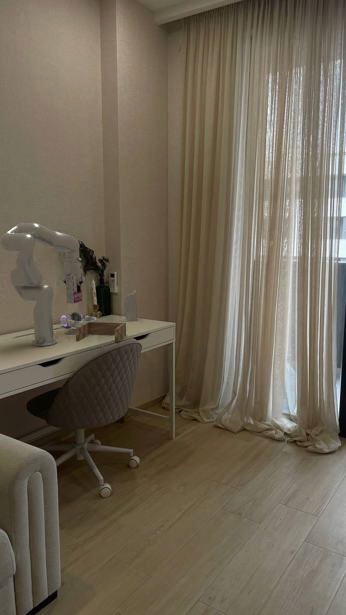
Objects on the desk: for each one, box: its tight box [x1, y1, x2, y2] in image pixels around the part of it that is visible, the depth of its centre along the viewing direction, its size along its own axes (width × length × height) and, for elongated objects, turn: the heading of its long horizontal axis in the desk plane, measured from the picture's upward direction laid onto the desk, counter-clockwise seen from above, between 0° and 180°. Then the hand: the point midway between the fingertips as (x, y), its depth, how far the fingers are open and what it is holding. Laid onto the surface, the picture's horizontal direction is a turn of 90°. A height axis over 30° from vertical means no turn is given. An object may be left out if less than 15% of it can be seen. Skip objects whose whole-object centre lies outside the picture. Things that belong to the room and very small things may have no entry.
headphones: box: [60, 311, 105, 329], centre depth 281 cm, size 22×8×22 cm
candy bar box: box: [65, 274, 83, 304], centre depth 260 cm, size 11×5×16 cm, turn 168°
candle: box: [115, 290, 138, 322], centre depth 299 cm, size 7×14×20 cm, turn 84°
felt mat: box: [65, 328, 76, 336], centre depth 264 cm, size 12×8×1 cm, turn 171°
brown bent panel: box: [75, 321, 127, 343], centre depth 248 cm, size 19×22×7 cm
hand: (73, 291), depth 261 cm, fingers closed on candy bar box, 5 cm apart
